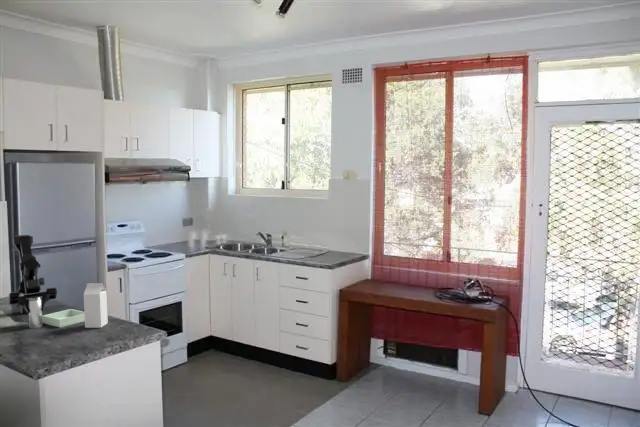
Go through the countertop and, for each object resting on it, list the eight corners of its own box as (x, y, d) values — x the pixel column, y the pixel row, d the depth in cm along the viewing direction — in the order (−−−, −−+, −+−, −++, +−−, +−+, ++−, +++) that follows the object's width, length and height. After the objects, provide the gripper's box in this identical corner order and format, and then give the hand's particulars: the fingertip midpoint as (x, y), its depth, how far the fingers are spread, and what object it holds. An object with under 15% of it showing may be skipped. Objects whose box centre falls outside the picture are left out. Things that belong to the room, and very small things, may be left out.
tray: (42, 323, 243) (42, 315, 243) (71, 316, 254) (71, 308, 254) (59, 327, 235) (59, 319, 235) (89, 320, 247) (88, 312, 247)
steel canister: (29, 325, 239) (28, 297, 238) (42, 324, 241) (41, 295, 240) (29, 328, 234) (27, 299, 233) (42, 327, 236) (41, 298, 236)
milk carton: (101, 328, 234) (99, 285, 233) (84, 328, 234) (83, 285, 233) (107, 323, 241) (106, 281, 240) (92, 323, 241) (90, 281, 240)
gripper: (8, 274, 234) (11, 304, 226) (55, 269, 244) (60, 298, 236) (7, 289, 241) (11, 318, 233) (53, 284, 251) (58, 312, 243)
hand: (35, 311), depth 236 cm, fingers closed on steel canister, 5 cm apart
